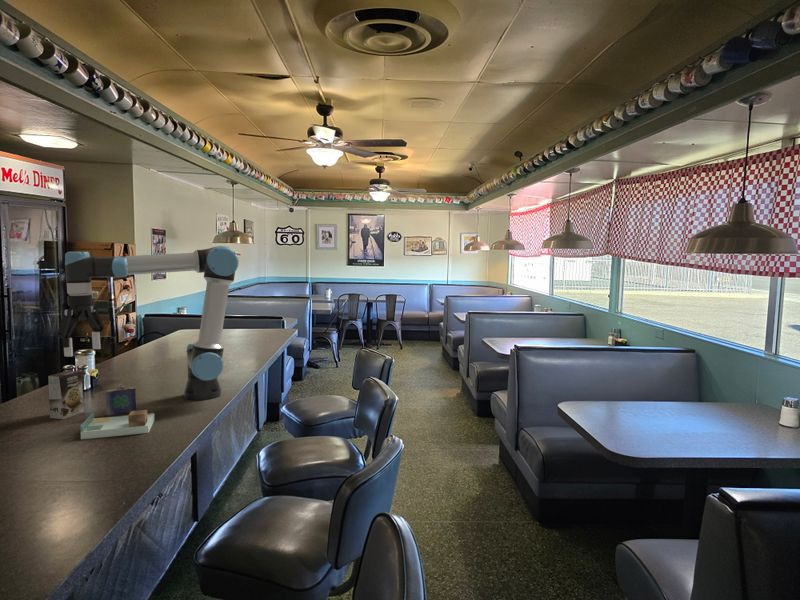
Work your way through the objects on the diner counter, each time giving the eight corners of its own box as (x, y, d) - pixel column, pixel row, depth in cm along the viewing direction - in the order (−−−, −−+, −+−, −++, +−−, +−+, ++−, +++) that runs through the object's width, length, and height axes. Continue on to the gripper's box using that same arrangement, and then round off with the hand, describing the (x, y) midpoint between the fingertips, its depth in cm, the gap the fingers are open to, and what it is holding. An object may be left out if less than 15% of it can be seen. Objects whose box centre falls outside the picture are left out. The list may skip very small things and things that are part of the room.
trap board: (154, 419, 182) (154, 408, 182) (148, 432, 169) (147, 420, 169) (92, 425, 176) (91, 413, 175) (80, 439, 163) (80, 426, 162)
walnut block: (147, 420, 174) (147, 409, 173) (145, 425, 169) (144, 414, 168) (131, 422, 172) (131, 411, 172) (128, 427, 167) (128, 415, 167)
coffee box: (64, 419, 182) (61, 376, 181) (49, 418, 183) (47, 375, 182) (84, 412, 191) (82, 370, 189) (70, 410, 192) (68, 370, 191)
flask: (106, 416, 186) (105, 386, 185) (106, 414, 188) (105, 384, 187) (136, 412, 191) (135, 383, 190) (136, 410, 193) (135, 381, 192)
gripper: (95, 291, 191) (98, 345, 193) (41, 297, 167) (45, 359, 169) (113, 291, 190) (116, 346, 192) (61, 297, 166) (65, 360, 168)
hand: (83, 352), depth 180 cm, fingers open, 13 cm apart
